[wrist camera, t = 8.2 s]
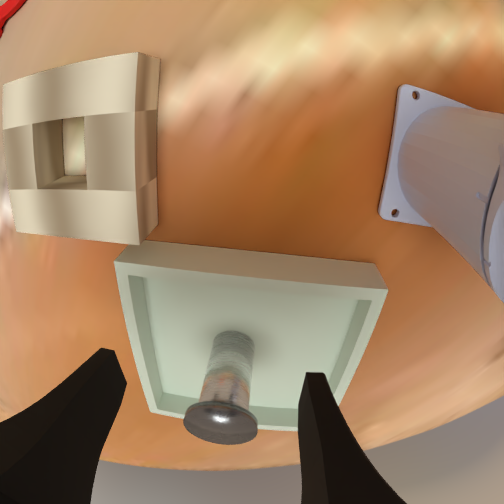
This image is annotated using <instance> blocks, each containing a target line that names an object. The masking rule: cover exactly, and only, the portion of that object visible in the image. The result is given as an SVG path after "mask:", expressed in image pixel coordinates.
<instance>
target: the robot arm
mask: <svg viewBox="0 0 504 504" xmlns="http://www.w3.org/2000/svg"><path fill="white" fill-rule="evenodd" d="M413 91H415V92H416V94H417V99H413V97H412V93H413ZM394 209H397V212H396V214H395V215H391V212H392V210H394ZM378 213H379V215H380V216H381V217H382V218H383V219H385V220H391V221H397V222H403V223H410V224H416V225H422V226H428V227H433V228H434V229H435V230H436V231H437V232H438V233H439V234H440V235H441V236H442V237H443V238H444V239H445V240H446V241H447V242H448V243H449V244H450V245H451V246H452V247H453V248H454V249H455V250H456V251H457V252H458V253H459V254H460V255H461V256H462V257H463V258H464V259H465V260H466V261H467V262H468V263H469V264H470V265H471V266H472V267H473V268H474V270H475V271H476V272H477V273H478V274H479V275H480V276H481V277H482V278H483V279H484V281H485V282H486V283H487V284H488V285H489V286H490V287H491V289H492V290H493V291H494V292H495V293H496V295H497V296H498V297H499V298H500V299H501V301H502V302H503V303H504V114H501V113H496V112H490V111H483V110H477V109H474V108H472V107H470V106H467V105H465V104H462V103H460V102H457V101H455V100H452V99H450V98H447V97H444V96H441V95H439V94H436V93H433V92H430V91H427V90H424V89H421V88H418V87H415V86H412V85H407V84H404V85H401V86H400V87H399V89H398V94H397V103H396V111H395V119H394V126H393V133H392V139H391V146H390V152H389V158H388V163H387V169H386V174H385V179H384V184H383V189H382V194H381V199H380V203H379V208H378ZM126 385H127V382H126V379H125V377H124V375H123V372H122V370H121V367H120V364H119V362H118V359H117V357H116V354H115V351H114V350H109V349H105V348H100V349H99V350H98V351H97V352H96V353H95V354H93V355H92V356H91V357H90V358H89V359H88V360H87V361H86V362H85V363H83V364H82V365H81V366H80V367H79V368H78V369H77V370H76V371H74V372H73V373H72V374H71V375H70V376H69V377H68V378H66V379H65V380H64V381H63V382H62V383H61V384H59V385H58V386H57V387H56V388H54V389H53V390H52V391H51V392H49V393H48V394H47V395H46V396H44V397H43V398H42V399H40V400H39V401H37V402H36V403H34V404H33V405H31V406H30V407H28V408H27V409H25V410H23V411H22V412H20V413H18V414H16V415H14V416H12V417H11V418H9V419H7V420H5V421H3V422H0V504H90V502H91V495H92V488H93V483H94V478H95V474H96V469H97V465H98V461H99V458H100V454H101V451H102V449H103V446H104V443H105V441H106V439H107V436H108V434H109V432H110V429H111V427H112V425H113V422H114V420H115V418H116V415H117V413H118V410H119V408H120V406H121V403H122V399H123V396H124V392H125V389H126ZM298 438H299V450H300V462H301V474H302V501H301V504H407V503H405V502H404V501H403V500H402V499H401V498H400V497H399V496H398V495H397V493H396V492H395V491H393V489H392V488H391V487H390V486H389V485H388V483H386V481H385V480H384V479H383V478H382V476H381V475H380V474H379V473H378V472H377V470H376V469H375V467H374V466H373V465H372V463H371V462H370V461H369V459H368V458H367V456H366V455H365V453H364V452H363V450H362V449H361V447H360V446H359V444H358V442H357V441H356V439H355V437H354V436H353V434H352V432H351V430H350V428H349V427H348V425H347V423H346V421H345V419H344V417H343V415H342V413H341V411H340V409H339V407H338V405H337V403H336V400H335V398H334V396H333V393H332V391H331V389H330V386H329V383H328V381H327V378H326V375H325V374H324V373H323V372H306V374H305V379H304V383H303V387H302V391H301V395H300V399H299V403H298Z"/></svg>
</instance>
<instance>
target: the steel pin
mask: <svg viewBox="0 0 504 504" xmlns="http://www.w3.org/2000/svg"><path fill="white" fill-rule="evenodd" d="M254 349H255V345H254V342H253V341H252V339H251V338H250V337H249V336H247V335H246V334H244V333H241V332H238V331H225V332H222V333H219V334H218V335H217V336H216V337H215V338H214V340H213V344H212V348H211V352H210V356H209V361H208V365H207V369H206V373H205V377H204V381H203V386H202V390H201V394H200V398H199V402H198V403H195V404H192V405H191V406H189V407H188V408H187V410H186V412H185V416H184V420H183V423H184V426H185V428H186V429H187V430H188V431H189V432H190V433H191V434H193V435H194V436H196V437H198V438H200V439H203V440H205V441H208V442H212V443H217V444H226V445H234V444H242V443H246V442H248V441H251V440H252V439H254V438H255V437H256V435H257V429H258V421H257V418H256V417H255V416H254V415H253V414H252V413H251V412H250V411H249V401H250V391H251V381H252V370H253V360H254Z"/></svg>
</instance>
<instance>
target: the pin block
mask: <svg viewBox="0 0 504 504" xmlns="http://www.w3.org/2000/svg"><path fill="white" fill-rule="evenodd" d="M159 72H160V59H158V58H155V57H152V56H149V55H146V54H143V53H139V52H135V53H128V54H121V55H114V56H108V57H102V58H97V59H92V60H87V61H82V62H77V63H73V64H69V65H65V66H61V67H57V68H53V69H49V70H46V71H42V72H39V73H36V74H32V75H29V76H26V77H23V78H20V79H17V80H14V81H12V82H9V83H6V84H3V106H2V111H3V141H4V155H5V165H6V174H7V182H8V189H9V196H10V202H11V208H12V213H13V218H14V223H15V228H16V232H23V233H32V234H41V235H50V236H58V237H67V238H77V239H86V240H95V241H104V242H113V243H122V244H132V245H140V244H141V243H142V242H143V241H144V240H145V239H146V237H147V236H148V235H149V234H150V233H151V232H152V231H153V229H154V228H155V227H156V226H157V225H158V206H157V109H158V88H159ZM80 116H84V140H85V162H86V176H65V173H64V160H63V143H62V119H65V118H72V117H80Z"/></svg>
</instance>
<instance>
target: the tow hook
mask: <svg viewBox="0 0 504 504" xmlns="http://www.w3.org/2000/svg"><path fill="white" fill-rule="evenodd" d="M25 1H26V0H8V1H7V2H6V3H4V4H3V5H2V6H0V37H1V36H2V30H1V28H2V26H3V25H4V23H5V21H6V20H7V19H8V18H9V17H11V16H12V15H13V14H14V13H15V12H16V11H17V10H18V9H19V8H20V7H21V6H22V4H23V3H24V2H25Z"/></svg>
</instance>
